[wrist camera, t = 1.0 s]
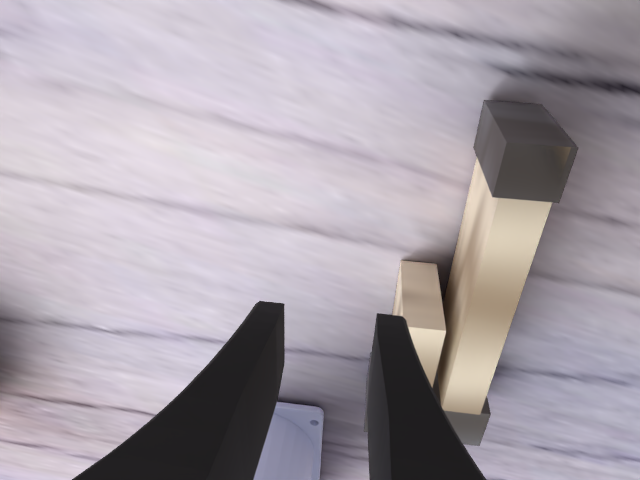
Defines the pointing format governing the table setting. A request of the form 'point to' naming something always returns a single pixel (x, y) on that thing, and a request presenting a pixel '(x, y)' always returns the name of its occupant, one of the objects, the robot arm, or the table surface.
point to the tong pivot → (430, 338)
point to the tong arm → (498, 242)
